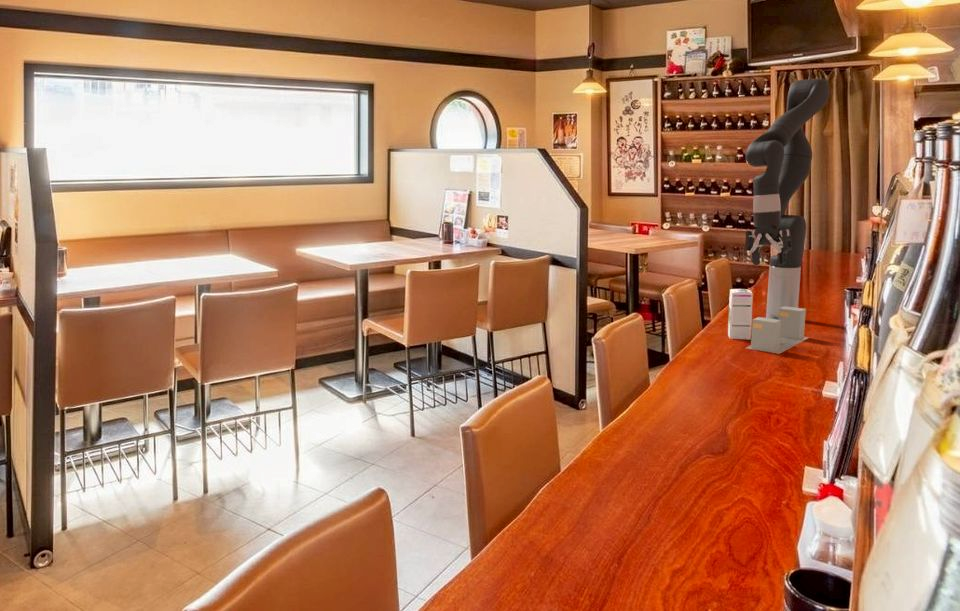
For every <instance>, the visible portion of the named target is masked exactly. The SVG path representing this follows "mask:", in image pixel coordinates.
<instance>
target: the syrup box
mask: <svg viewBox="0 0 960 611" xmlns="http://www.w3.org/2000/svg"><path fill="white" fill-rule="evenodd" d="M753 296H754V295H753V292H752V290H750V289H746V288H731V289H729V299H728V301H729V302H728V304H729V305H728V322H727V323H728V324H727V336H728V338H729V339H731V340H751V337H752V321H753Z"/></svg>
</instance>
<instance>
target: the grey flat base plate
mask: <svg viewBox="0 0 960 611" xmlns="http://www.w3.org/2000/svg"><path fill="white" fill-rule="evenodd" d="M807 339H810V337H808V336H804V337H802V338H800V339H793V338H787V337H780V344H779V350H778V351H776V352H774V353H772V352H770V353H772V354H779V355H780V354H781V353H783V352H785V351H787V350H789V349H791V348H793V347H794V346H797V345H799V344H800V343H802V342H804V341H806V340H807ZM745 349H746V350H747V349H748V350H754V349H751V345H749V346H747V347H745ZM754 351H755V350H754ZM758 351H760V350H758ZM764 352H766V351H764ZM766 353H767V352H766Z"/></svg>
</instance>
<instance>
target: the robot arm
mask: <svg viewBox="0 0 960 611" xmlns="http://www.w3.org/2000/svg"><path fill="white" fill-rule="evenodd" d="M830 93H831V89H830V84H829V82H828V81H827V80H826V79H824V78H808V79H798V80H794V81H793V82H791V84H790V86H789V89H788V92H787V100H786V111H785V113H783V114H781V115H780V116H779V117H777V118H776V120H774V121H773V123H772V124H771V126H770V127H769V128H768V129H767V131H764V132H763V133H762V134H760V135H759V136H758V137H756V138H755V139H754V140H753V141H752V142H751V143H750V144H749V145H748V147H747V149H746V151H745V160H746V162H747V164H748V165H750V166H751V167H754V168H757V167H766V168H765V170H764V172H763V173H761V174H758V175H756V176H754V178H753V182H752V183H753V184H752V186H753V202H752V206H753V207H752V208H753V209H752V210H753V213H752V214H753V227H754V229H751V230H746V231H745V251H748V252H750V253H751V262H752V264H753V266H760V265H761V255H760V250H761V248H762V247H763V246H765V245H767V246H772V247H773V248H775V250H776V251H777V254H775V255H772V256H771V257H770V258H769V268H768V284H767V285H768V286H767V300H766V313H765V318H770V319H777V320H778V317H779V308H781V307H784V306H786V307H794V308H799V299H800V298H799V297H800V296H799V295H800V287H801V286H800V283H801V270H802V262H803V261H802V260H803V257H804V251H805V250H804V249H805V241H806V234H807V233H806V232H807V223H806V219H805V217H804V216H802V215H796V214H795V215H794V214H786V211H787V207H788V204H789V202H790V200H791V199H792V197H793V195H795V193H796V192H797V191H798V190H799V188H800V187H801V186H802V185H803V184H804V182H805V181H806V180H807V179H808V177H809V174H810V171H811V166H812V160H813V150H812V147H811V144H810V142H809V140H808V138H807V136H806V134H805V132H804V129H803V126H804V125H805V124H806V123H807V122H808V121H810V120H811V119H812V118H813V117H815V115H816V114H818V113H819V112H820V111H822V109H823V108H824V107H825V106H826V105H827V104H828V101H829V99H830V96H831V94H830Z"/></svg>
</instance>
